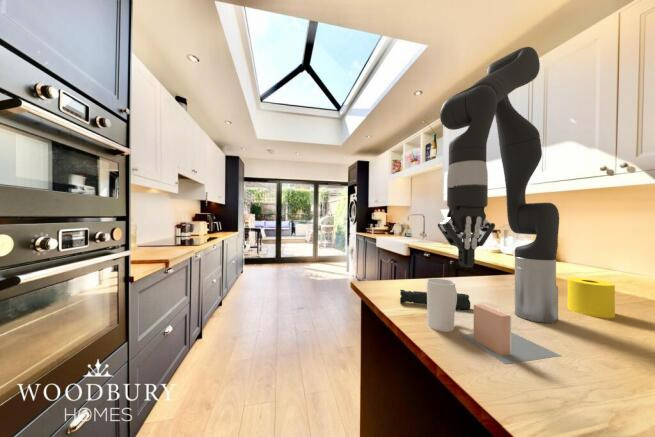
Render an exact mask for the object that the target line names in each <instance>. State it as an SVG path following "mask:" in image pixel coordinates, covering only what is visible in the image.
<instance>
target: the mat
mask: <svg viewBox="0 0 655 437" xmlns="http://www.w3.org/2000/svg"><path fill="white" fill-rule="evenodd" d="M458 336H459V337H461V338H463V340H464V339H465V340H466V341H467V342H469V343H471V344H472V345H474V346H475V347H477V348H478V349H481V350H482V351H484V353H487V354H488V355H490V356H492V357H493V358H495V359H497V360H498V361H500V362H502V363H503V364H505V365H509V364H510V365H511V364H516V363H522V362H529V361H536V360H542V359H548V358H549V359H550V358H551V359H552V358H555V357H562V355H560V354H558V353H557V352H555V351H552V350H551V349H548V348H546V347H544V346H542V345H539V344H537V343H534V342H533V341H531V340H529V339H527V338H524V337H523V336H520V335H519V334H516V333H514V332H512V331H511V355H504V356H501V355H499V354H497V353H496V352H494V351H492V350H491V349H489V348H487V347H485V346H484V345H482V344H480V343H479V342H477V341H475V340H474V333H468V334H467V333H465V334H459V335H458Z"/></svg>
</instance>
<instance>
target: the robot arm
mask: <svg viewBox="0 0 655 437" xmlns="http://www.w3.org/2000/svg"><path fill="white" fill-rule="evenodd" d="M539 58H540V57H539V55H538V53H537V51H536V50H535V49H534V47H531V46H525V47H521V48H518V49H517V50H515V51H514V50H513V52H510V53H509V54H507V55H505V56H503V57H501V58H499V59H497V60H495V61H494V62H492V63H490V64H489V66H488V67H487V70H486V75H485V76H483V77H482V78H480V79H479V80H477V82H475V83H474V84H472V85H471V86H470V87H468V88H466V89H464V90H462V91H460V92H458V93H456V94H454V95H452V96H450V97H449V98H448V99H446V100H445V101H444V102H443V104H442V106H441V107H440V112H439V120H440V122H441V125H443V127H444V128H446V129H447V130H452V131H454V130H460V129H463V128H466V127H467V129H466V130H465V131H464V132H463V133H461V134H459V135H458V136H456V137H454V138H453V139H451V141H450V142H449V144H448V169H447V170H448V171H447V179H446V195H447V196H446V198H447V199H446V207H447V208H448V212H447V215H446V217H447V218H446V219H445V220H443V221H441V222H438V223H437V228H438V229H439V231H440V232H441V233H442V235H443V237H444V238H445V240H446V241H447V243H448V244H449V245H450V246H453V247H456V248H457V249H458V251H457V253H458V254H457V255H458V256H457V257H458V258H457V259H458V260H457V262H458V264H459V266H460V267H464V268H473V267H474V264H475V260H476V259H475V257H476V256H475V254H476V253H475V251H476V249H477V248H478V247H483V246H484V245H485V244H486V241H487V240H488V239H489V237H490V236H491V234H492V233H493V231H494V229H495V227H496V224H495V223H494V222H490V221H489V220H487V219H486V218H487V214H486V212H485V208H487V207H488V199H489V198H488V197H489V195H488V187H489V186H488V185H489V183H488V182H489V180H488V179H489V174H488V173H489V172H488V167H487V144H488V138H489V135H490V132H491V128H492V125H493V122H494V119H495V122H496V129H497V137H498V145H499V150H500V151H499V153H500V157H501V164H502V168H503V174H504V176H503V177H504V183H505V184H504V185H505V193H506V194H505V195H506V196H505V198H506V213H507V215H506V216H507V223H508V226H509V228H510V230H511V231H512V232H513V233H515V234H518V235H519V234H522V235H535V238H534V240H533V241H532V242H530V243H527V244H524V245H519V246H516V247H515V248H514V314H515V315H516V316H518V317H519V318H523V319H524V320H529V321H532V322H537V323H538V322H539V323H544V324H553V323H554V324H555V323H556V322H557V320H559V286H558V285H557V252H558V246H559V244H558V243H559V232H560V231H559V228H560V227H559V226H560V212H559V210H558V207H557V206H556V204H554V203H552V202H537V203H536V202H531V203H527V202H526V200H527V199H526V192H527V191H526V189H527V186H528V184H529V182H530V180H531V177H532V176H533V175H534V173H535V171H536V170H537V167H538V166H539V164H540V162H541V159H542V157H543V149H542V142H541V138H540V137H541V136H540V131H539V130H538V129H537V127H536V126H535V125H534V124H533V123H532V122H531V121H530V120H528V119H527V118H525V116H523V115H521V113H519V112H518V111H517V110H516V109H515V108H514V107H513V105H512V103H511V100H510V98H509V95H510V94H511V93H512V92H513V91H515V90H516V89H518V88H521V87H524V86H525V85H528V84H529V83H531V82H533V81H534V80H536V78H537V77H538V75H539V73H540V68H541V65H540V64H541V63H540V59H539Z"/></svg>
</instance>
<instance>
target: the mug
mask: <svg viewBox="0 0 655 437" xmlns="http://www.w3.org/2000/svg"><path fill="white" fill-rule="evenodd" d="M426 292H427V304H426V314H427V316H426V317H427V326H428V327H429V328H431V329H432V330H436V331H438V332H447V333H449V332H452V331H454V329H455V317H456V316H455V313H456V310H457V309H456V303H457V288H456V282H455V281H452V280H451V279H450V280H449V279H445V278H434V277H433V278H428V279H427V280H426Z"/></svg>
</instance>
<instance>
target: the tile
mask: <svg viewBox="0 0 655 437" xmlns="http://www.w3.org/2000/svg"><path fill="white" fill-rule="evenodd" d="M511 332H512V315H511V314H508V313H505V312H503V311H502V310H498V309H496V308H494V307H491V306H489V305H486V304H483V303H480V304H473V334H474V340H475V341H477V342H479V343H480V344H482V345H484V346H485V347H487V348H489V349H491V350H492V351H494V352H496V353H497V354H499V355H501V356H504V355H511Z"/></svg>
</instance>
